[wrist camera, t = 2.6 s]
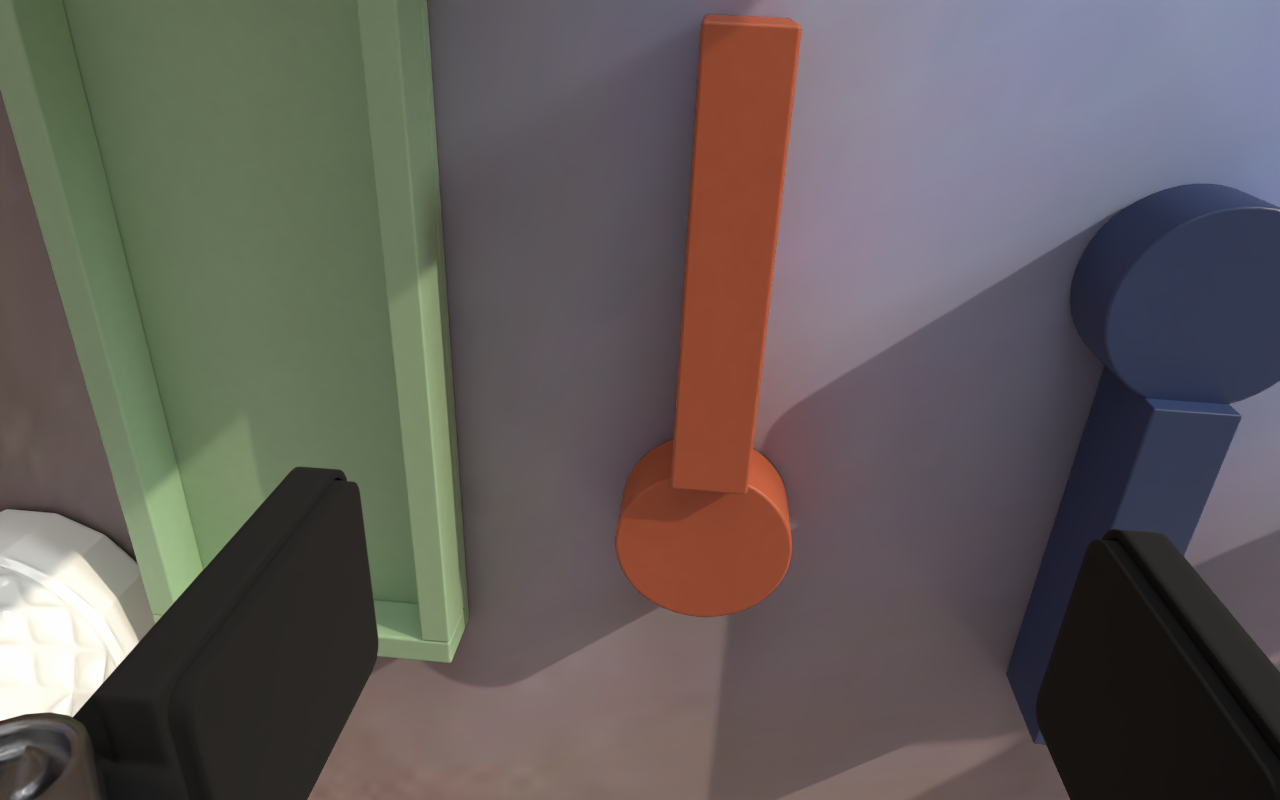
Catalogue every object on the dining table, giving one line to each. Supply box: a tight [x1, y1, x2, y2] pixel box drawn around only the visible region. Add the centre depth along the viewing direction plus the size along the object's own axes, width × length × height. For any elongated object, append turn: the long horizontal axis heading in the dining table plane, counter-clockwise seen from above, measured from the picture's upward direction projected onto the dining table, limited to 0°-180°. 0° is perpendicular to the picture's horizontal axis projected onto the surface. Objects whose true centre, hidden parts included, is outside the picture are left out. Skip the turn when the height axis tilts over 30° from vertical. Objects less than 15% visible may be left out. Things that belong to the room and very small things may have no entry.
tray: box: [0, 0, 469, 663], centre depth 20 cm, size 22×9×2 cm, turn 178°
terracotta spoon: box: [615, 14, 802, 617], centre depth 19 cm, size 14×4×2 cm, turn 178°
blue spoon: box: [1006, 184, 1280, 745], centre depth 20 cm, size 14×4×2 cm, turn 178°
